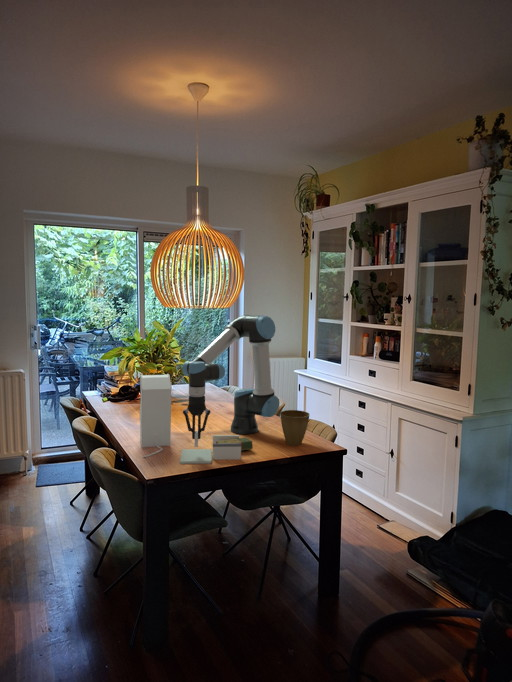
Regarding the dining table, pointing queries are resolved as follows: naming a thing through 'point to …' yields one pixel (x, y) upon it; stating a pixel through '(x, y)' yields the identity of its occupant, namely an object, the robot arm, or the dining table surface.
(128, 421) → the dining table surface
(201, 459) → the plate
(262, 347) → the robot arm
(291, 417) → the plant pot
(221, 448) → the rack
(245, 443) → the carton
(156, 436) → the tall slanted-top box
